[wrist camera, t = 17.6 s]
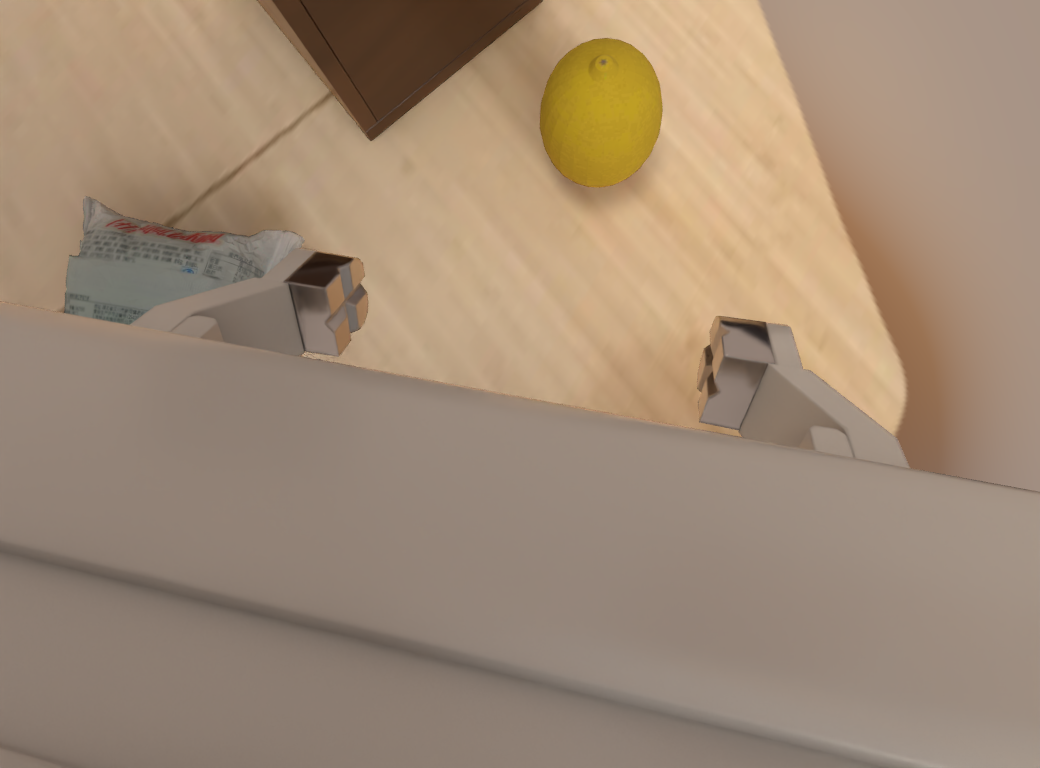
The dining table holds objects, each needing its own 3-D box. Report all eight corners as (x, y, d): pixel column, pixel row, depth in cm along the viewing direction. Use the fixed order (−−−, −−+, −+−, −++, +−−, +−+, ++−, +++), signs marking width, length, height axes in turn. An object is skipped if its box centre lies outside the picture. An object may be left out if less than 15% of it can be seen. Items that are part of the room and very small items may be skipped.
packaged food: (128, 215, 32) (48, 177, 27) (320, 247, 31) (272, 213, 26) (92, 363, 32) (4, 351, 27) (286, 402, 30) (230, 397, 26)
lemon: (643, 105, 30) (667, -15, 22) (655, 204, 29) (684, 119, 21) (540, 119, 30) (527, 7, 22) (549, 217, 30) (539, 139, 22)
